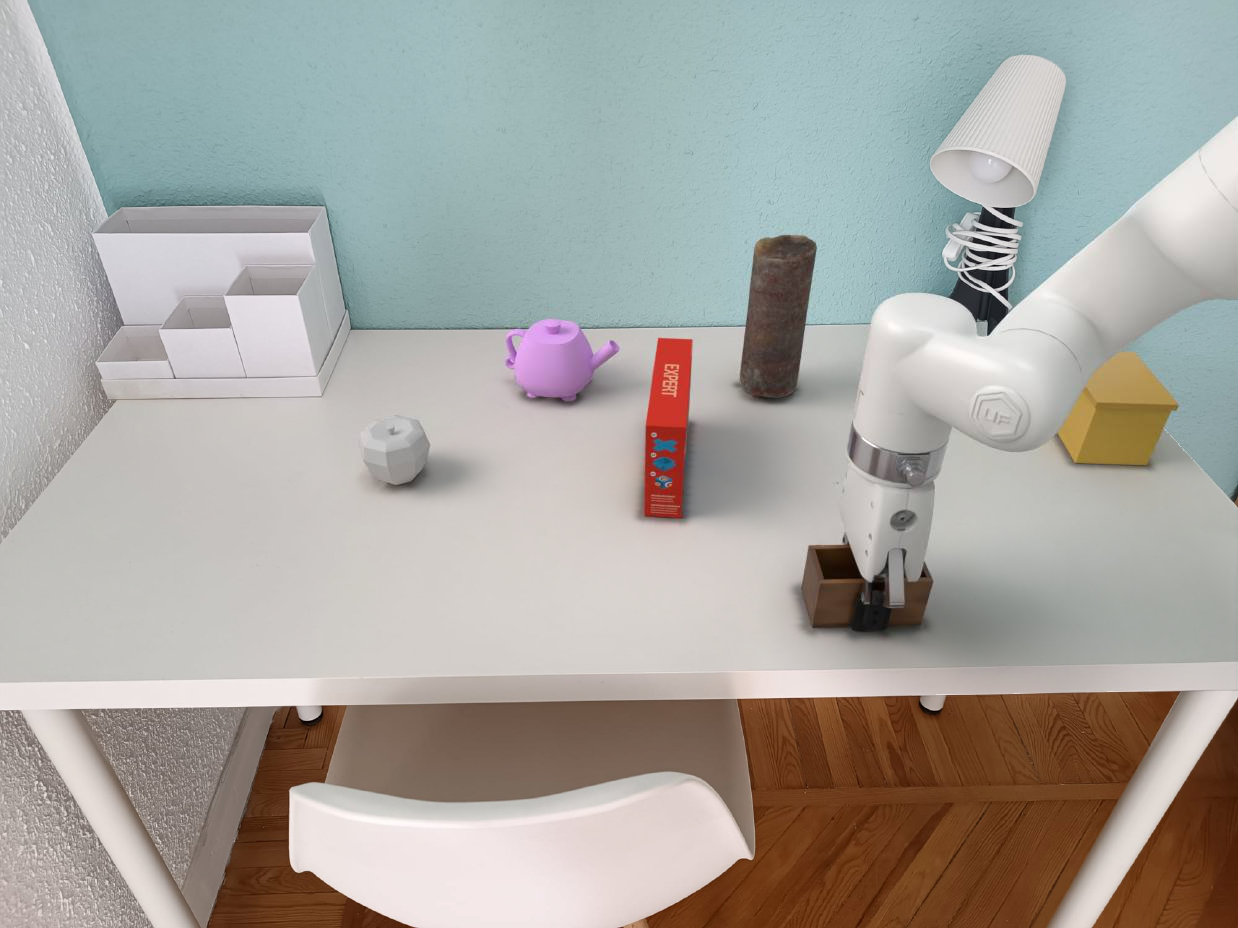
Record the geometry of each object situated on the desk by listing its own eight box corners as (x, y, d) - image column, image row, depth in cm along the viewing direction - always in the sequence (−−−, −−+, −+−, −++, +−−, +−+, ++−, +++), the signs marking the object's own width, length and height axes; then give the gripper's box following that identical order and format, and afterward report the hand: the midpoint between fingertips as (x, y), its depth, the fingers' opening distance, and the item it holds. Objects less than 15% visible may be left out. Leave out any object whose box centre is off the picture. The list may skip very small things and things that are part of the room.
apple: (372, 454, 101) (361, 407, 97) (440, 453, 101) (432, 406, 97) (357, 498, 95) (345, 448, 91) (429, 496, 95) (421, 447, 91)
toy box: (655, 421, 106) (657, 337, 100) (688, 423, 106) (692, 339, 99) (644, 516, 92) (645, 425, 85) (681, 518, 92) (686, 427, 85)
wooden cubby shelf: (905, 586, 84) (916, 542, 80) (920, 625, 79) (933, 581, 76) (801, 588, 83) (808, 545, 80) (811, 627, 79) (819, 583, 76)
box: (1151, 467, 99) (1179, 404, 94) (1073, 464, 99) (1097, 402, 94) (1111, 411, 108) (1134, 351, 103) (1040, 409, 108) (1060, 349, 103)
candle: (800, 406, 109) (822, 255, 97) (741, 406, 109) (756, 255, 97) (791, 375, 115) (811, 229, 103) (736, 375, 115) (749, 229, 103)
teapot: (518, 362, 118) (512, 299, 113) (626, 372, 116) (626, 308, 110) (495, 402, 110) (488, 337, 105) (611, 414, 108) (610, 348, 102)
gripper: (980, 512, 64) (928, 676, 74) (911, 389, 77) (876, 543, 88) (877, 514, 64) (840, 678, 74) (826, 391, 77) (802, 544, 88)
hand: (860, 603), depth 81 cm, fingers closed on wooden cubby shelf, 5 cm apart
